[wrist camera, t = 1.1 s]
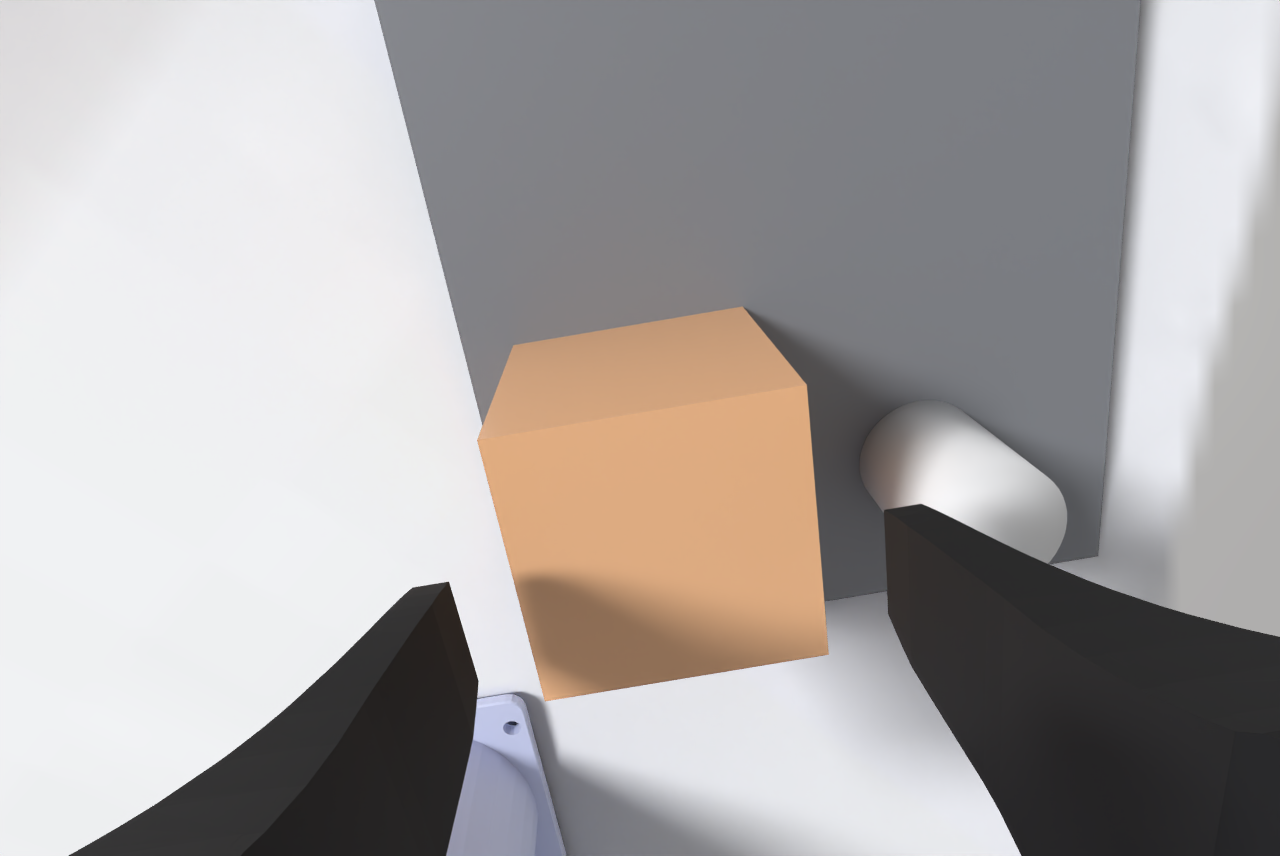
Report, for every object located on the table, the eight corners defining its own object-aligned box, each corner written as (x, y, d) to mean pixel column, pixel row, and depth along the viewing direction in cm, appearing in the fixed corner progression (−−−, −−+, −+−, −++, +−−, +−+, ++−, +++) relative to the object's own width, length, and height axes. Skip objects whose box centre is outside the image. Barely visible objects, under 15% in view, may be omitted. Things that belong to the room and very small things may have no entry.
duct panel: (1077, 538, 22) (1202, 645, 18) (541, 627, 23) (527, 756, 18) (1125, -212, 16) (1346, -353, 11) (364, -80, 16) (270, -165, 11)
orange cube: (764, 510, 20) (828, 654, 15) (558, 544, 20) (544, 701, 15) (742, 306, 18) (806, 384, 13) (513, 345, 18) (477, 439, 13)
